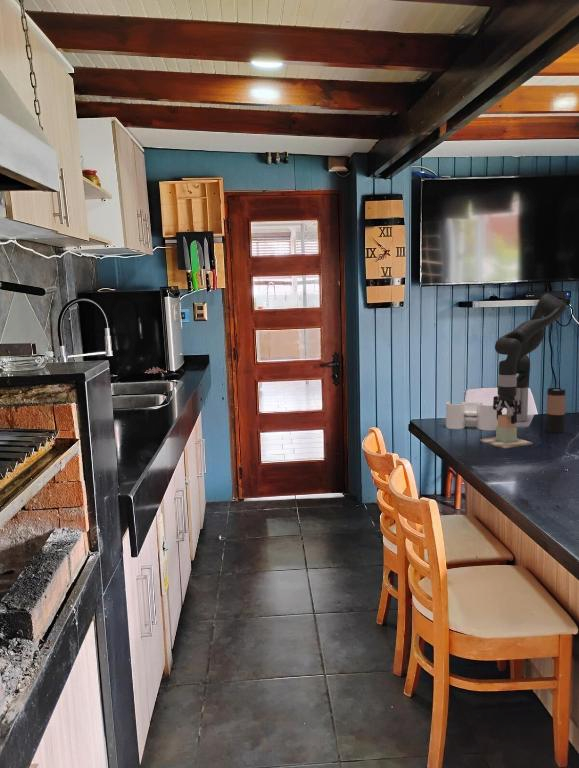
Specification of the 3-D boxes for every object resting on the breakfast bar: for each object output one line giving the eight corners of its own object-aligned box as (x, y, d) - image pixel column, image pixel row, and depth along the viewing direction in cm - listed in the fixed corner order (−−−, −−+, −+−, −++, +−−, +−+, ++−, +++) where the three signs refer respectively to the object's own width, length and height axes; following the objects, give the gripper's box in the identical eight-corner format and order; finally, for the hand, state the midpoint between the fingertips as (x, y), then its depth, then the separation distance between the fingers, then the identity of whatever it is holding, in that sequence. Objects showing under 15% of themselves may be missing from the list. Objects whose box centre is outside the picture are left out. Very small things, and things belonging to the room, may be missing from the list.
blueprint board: (480, 440, 251) (480, 438, 251) (507, 437, 256) (507, 435, 256) (504, 448, 237) (504, 446, 237) (532, 444, 242) (532, 442, 242)
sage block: (495, 439, 248) (496, 426, 247) (506, 438, 250) (507, 424, 250) (505, 442, 243) (505, 429, 242) (516, 441, 245) (517, 427, 244)
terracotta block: (497, 426, 247) (497, 415, 246) (506, 425, 249) (507, 414, 248) (505, 428, 242) (506, 417, 242) (515, 427, 244) (515, 416, 243)
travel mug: (545, 432, 261) (546, 390, 258) (546, 429, 268) (547, 387, 265) (563, 434, 258) (565, 390, 255) (564, 430, 264) (566, 388, 262)
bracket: (445, 429, 276) (445, 404, 275) (446, 425, 286) (446, 401, 284) (500, 431, 269) (500, 405, 267) (499, 426, 278) (499, 402, 276)
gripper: (526, 386, 238) (525, 423, 240) (502, 382, 251) (501, 418, 253) (512, 387, 235) (511, 425, 237) (488, 383, 248) (488, 419, 251)
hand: (506, 421), depth 245 cm, fingers open, 8 cm apart
